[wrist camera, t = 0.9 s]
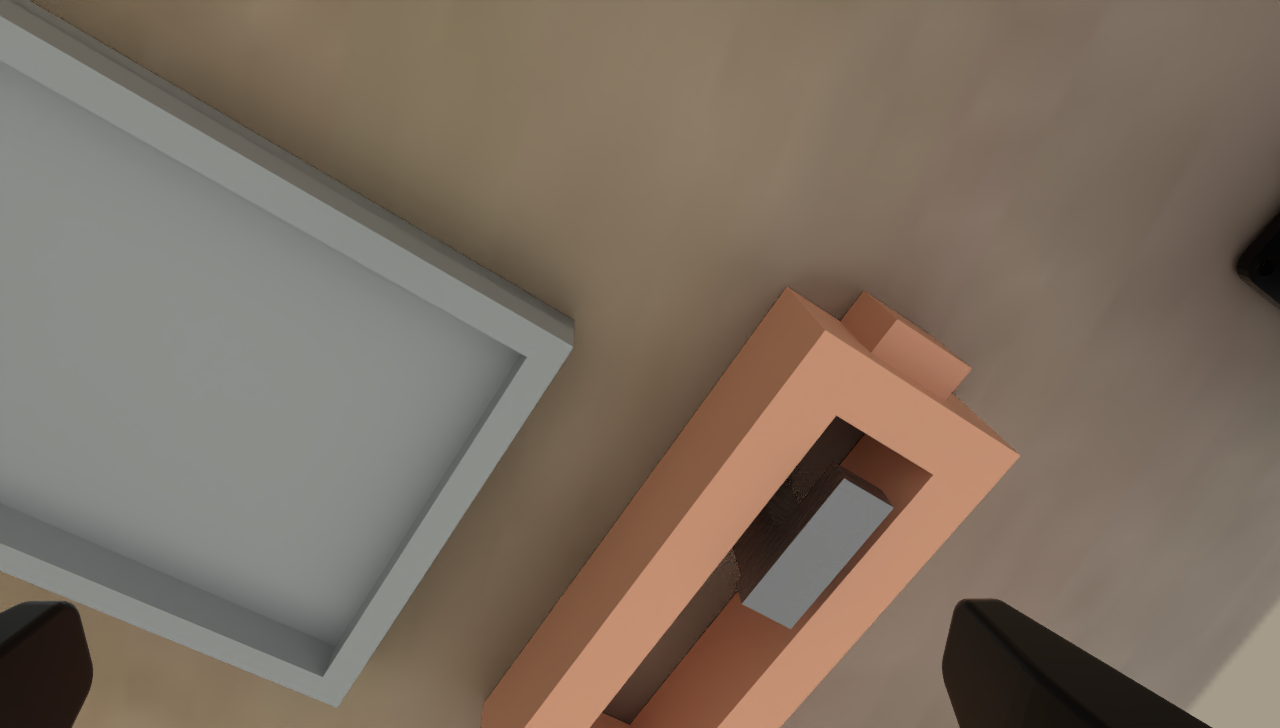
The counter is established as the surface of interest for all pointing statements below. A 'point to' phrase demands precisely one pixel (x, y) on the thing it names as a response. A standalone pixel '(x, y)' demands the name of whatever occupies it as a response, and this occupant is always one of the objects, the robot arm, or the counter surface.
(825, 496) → the gray t-shaped block
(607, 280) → the counter surface
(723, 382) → the salmon slotted frame
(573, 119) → the counter surface
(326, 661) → the tray
